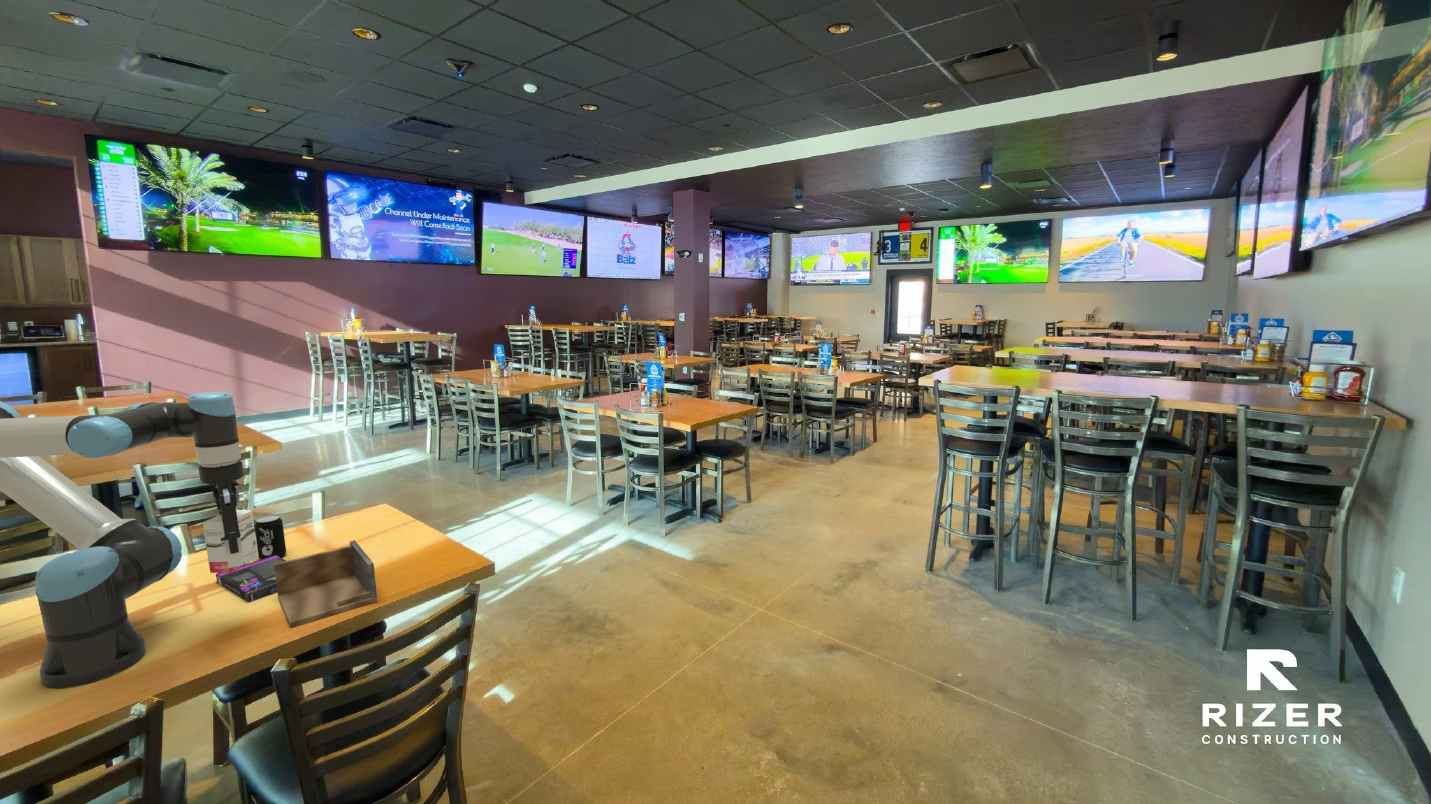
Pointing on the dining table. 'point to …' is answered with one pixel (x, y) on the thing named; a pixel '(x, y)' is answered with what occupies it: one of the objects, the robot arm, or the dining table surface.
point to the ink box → (217, 547)
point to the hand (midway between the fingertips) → (233, 558)
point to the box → (252, 579)
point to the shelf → (325, 584)
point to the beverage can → (270, 536)
